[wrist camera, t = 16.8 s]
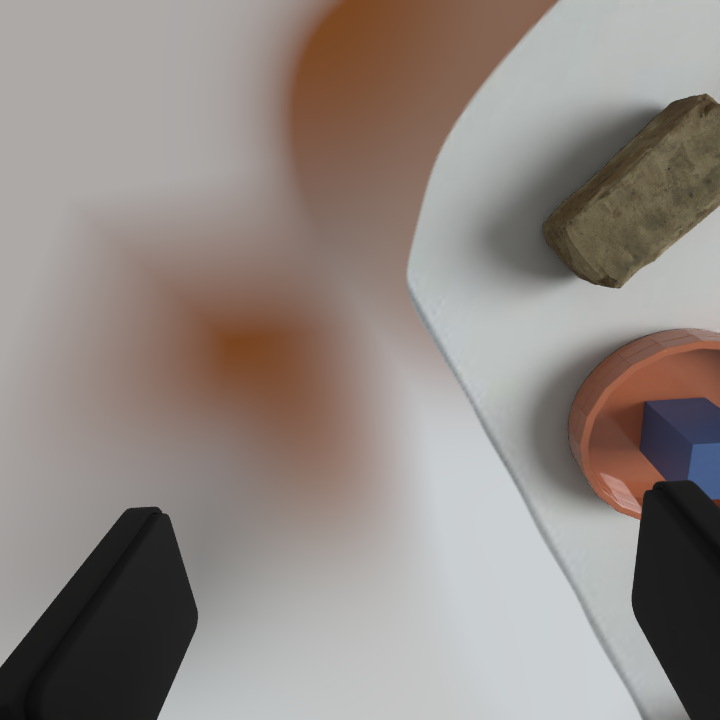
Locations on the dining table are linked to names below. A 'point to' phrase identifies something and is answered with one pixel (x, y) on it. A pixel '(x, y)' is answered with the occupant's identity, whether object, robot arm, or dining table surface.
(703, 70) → the dining table surface
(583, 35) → the dining table surface
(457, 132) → the dining table surface
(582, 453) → the terracotta bowl
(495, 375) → the dining table surface
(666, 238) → the stone block
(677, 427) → the blue block
